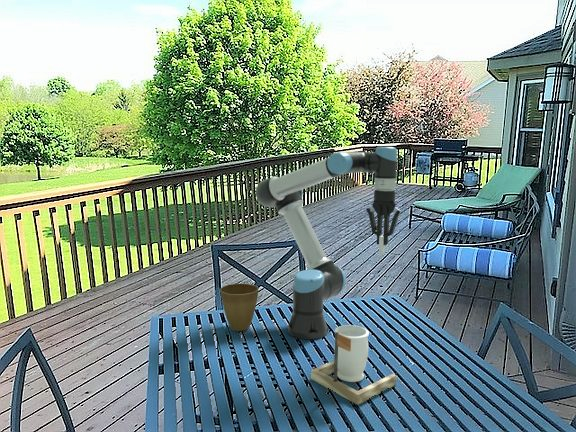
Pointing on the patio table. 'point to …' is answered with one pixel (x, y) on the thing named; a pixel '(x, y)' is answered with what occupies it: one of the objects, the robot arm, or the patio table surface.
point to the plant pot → (239, 304)
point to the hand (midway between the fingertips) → (381, 253)
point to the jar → (352, 353)
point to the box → (347, 392)
